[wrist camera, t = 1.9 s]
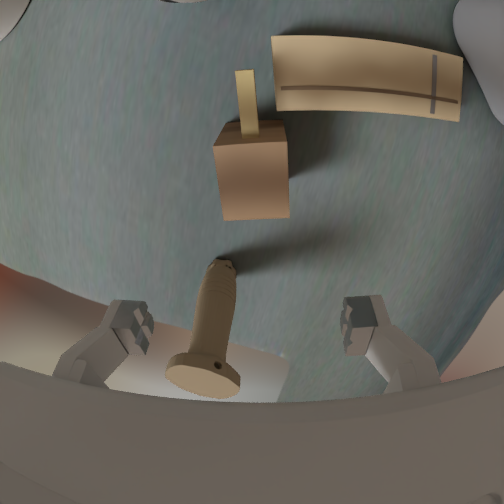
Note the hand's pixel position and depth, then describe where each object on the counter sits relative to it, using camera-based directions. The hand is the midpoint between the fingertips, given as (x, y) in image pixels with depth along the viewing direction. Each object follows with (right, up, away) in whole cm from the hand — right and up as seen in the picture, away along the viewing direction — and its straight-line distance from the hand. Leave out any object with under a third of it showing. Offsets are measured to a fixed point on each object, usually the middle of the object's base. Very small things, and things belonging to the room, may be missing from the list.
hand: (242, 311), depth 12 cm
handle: (-3, +1, +24) cm, 24 cm away
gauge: (+1, +13, +13) cm, 19 cm away
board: (+10, +18, +9) cm, 22 cm away
